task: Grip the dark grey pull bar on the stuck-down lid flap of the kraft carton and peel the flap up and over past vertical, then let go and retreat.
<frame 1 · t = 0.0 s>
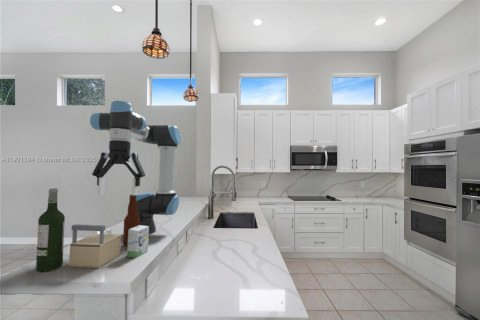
hand: (118, 194, 91), 28 cm above the counter, fingers open, 13 cm apart
flap: (97, 231, 96), point 12 cm above the counter, hinge at 0.0°
bracket: (94, 247, 112), on the counter
carton: (96, 260, 96), on the counter
wine bottle: (49, 268, 88), on the counter
bottle: (131, 245, 115), on the counter
ink box: (137, 254, 104), on the counter
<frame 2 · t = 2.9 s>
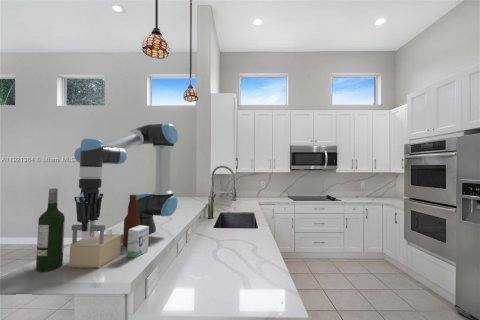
hand: (88, 238, 91), 11 cm above the counter, fingers closed on flap, 2 cm apart
flap: (97, 231, 96), point 12 cm above the counter, hinge at 0.0°, touching gripper
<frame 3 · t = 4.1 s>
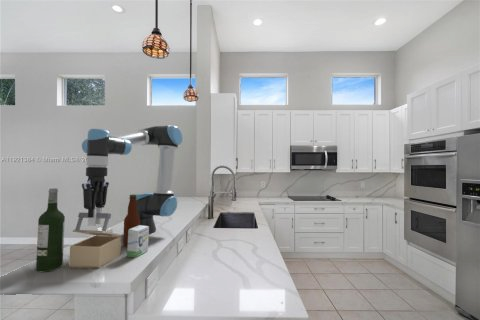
hand: (94, 224, 94), 15 cm above the counter, fingers closed on flap, 2 cm apart
flap: (100, 224, 98), point 14 cm above the counter, hinge at 21.4°, touching gripper
everything else where it was.
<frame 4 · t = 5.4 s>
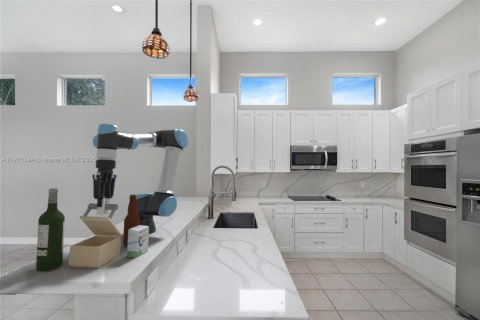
hand: (102, 214, 99), 19 cm above the counter, fingers closed on flap, 2 cm apart
flap: (105, 219, 101), point 16 cm above the counter, hinge at 45.2°, touching gripper
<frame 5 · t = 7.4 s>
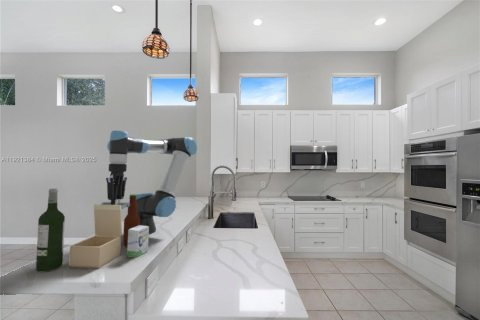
hand: (115, 213, 109), 17 cm above the counter, fingers closed on flap, 2 cm apart
flap: (112, 217, 106), point 15 cm above the counter, hinge at 83.2°, touching gripper
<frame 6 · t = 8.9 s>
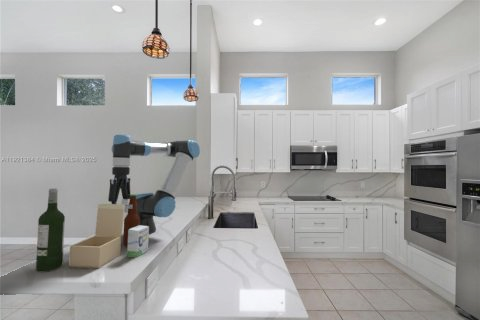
hand: (119, 213, 112), 16 cm above the counter, fingers open, 7 cm apart
flap: (114, 218, 108), point 15 cm above the counter, hinge at 95.1°, touching gripper
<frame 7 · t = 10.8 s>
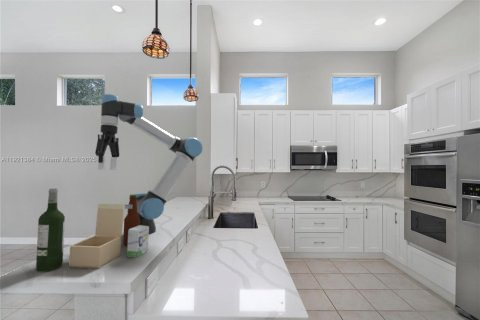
hand: (107, 169, 118), 37 cm above the counter, fingers open, 9 cm apart
flap: (114, 218, 108), point 15 cm above the counter, hinge at 94.9°
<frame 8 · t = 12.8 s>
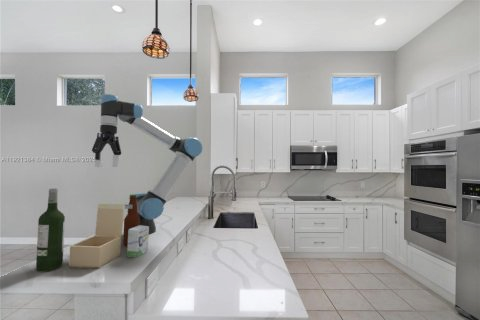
hand: (107, 167, 118), 39 cm above the counter, fingers open, 13 cm apart
at the end: flap at +95° (first picture: +0°); the gripper is holding nothing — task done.
